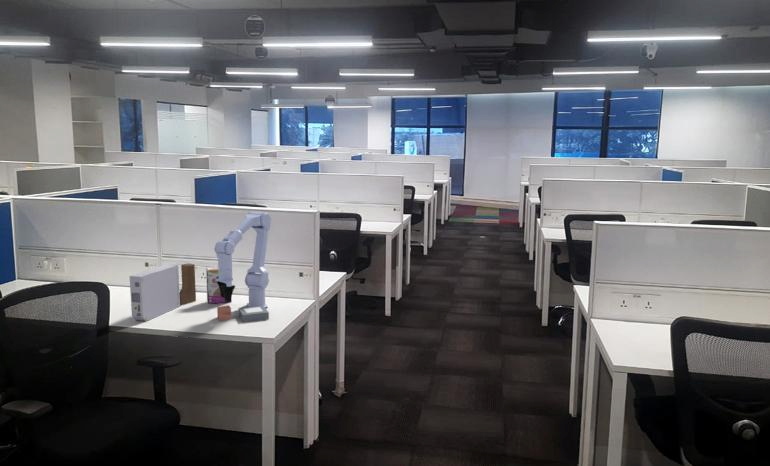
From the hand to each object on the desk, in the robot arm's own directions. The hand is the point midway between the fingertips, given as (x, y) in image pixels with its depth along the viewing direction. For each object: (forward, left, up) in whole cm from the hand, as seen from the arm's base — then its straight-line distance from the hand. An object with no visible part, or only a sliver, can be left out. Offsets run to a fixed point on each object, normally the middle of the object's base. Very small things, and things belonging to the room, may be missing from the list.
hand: (226, 299), depth 261 cm
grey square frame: (+2, +11, -8) cm, 14 cm away
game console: (-19, -27, -9) cm, 34 cm away
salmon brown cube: (-1, -1, -9) cm, 9 cm away
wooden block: (-34, -14, -9) cm, 38 cm away
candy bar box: (-29, +1, -9) cm, 30 cm away
